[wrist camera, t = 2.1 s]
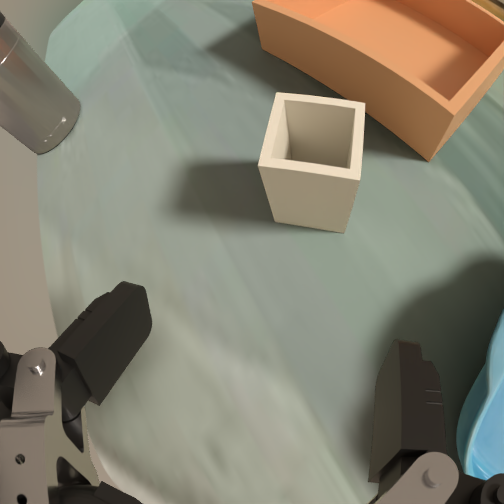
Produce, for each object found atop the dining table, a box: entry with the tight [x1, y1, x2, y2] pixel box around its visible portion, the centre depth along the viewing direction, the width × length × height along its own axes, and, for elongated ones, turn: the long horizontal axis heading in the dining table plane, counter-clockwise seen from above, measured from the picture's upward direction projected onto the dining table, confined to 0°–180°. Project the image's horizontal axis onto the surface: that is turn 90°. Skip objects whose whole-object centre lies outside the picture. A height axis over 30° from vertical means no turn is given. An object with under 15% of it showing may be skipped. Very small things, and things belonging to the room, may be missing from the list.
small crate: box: [258, 92, 365, 233], centre depth 22 cm, size 6×6×9 cm
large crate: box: [252, 0, 504, 162], centre depth 26 cm, size 22×22×7 cm
